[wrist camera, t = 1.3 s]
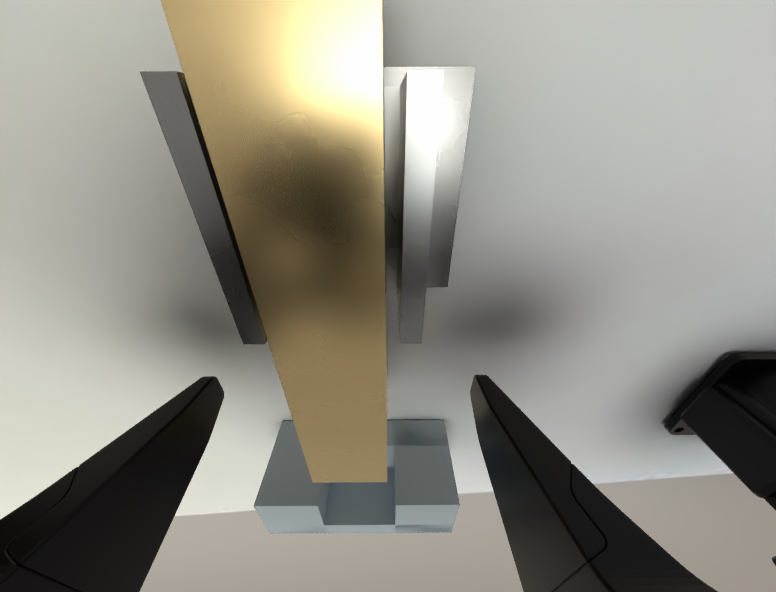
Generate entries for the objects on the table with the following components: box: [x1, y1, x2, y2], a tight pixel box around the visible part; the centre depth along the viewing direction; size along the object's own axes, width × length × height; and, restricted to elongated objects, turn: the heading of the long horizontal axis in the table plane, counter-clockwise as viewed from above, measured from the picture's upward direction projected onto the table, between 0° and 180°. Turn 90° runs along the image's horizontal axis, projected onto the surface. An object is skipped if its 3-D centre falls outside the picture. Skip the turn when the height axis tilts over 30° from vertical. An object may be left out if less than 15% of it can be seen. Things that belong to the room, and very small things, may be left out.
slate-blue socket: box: [254, 420, 460, 534], centre depth 16 cm, size 10×4×4 cm, turn 90°
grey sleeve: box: [140, 67, 476, 344], centre depth 8 cm, size 8×7×4 cm
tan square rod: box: [161, 0, 387, 483], centre depth 8 cm, size 3×15×3 cm, turn 0°
